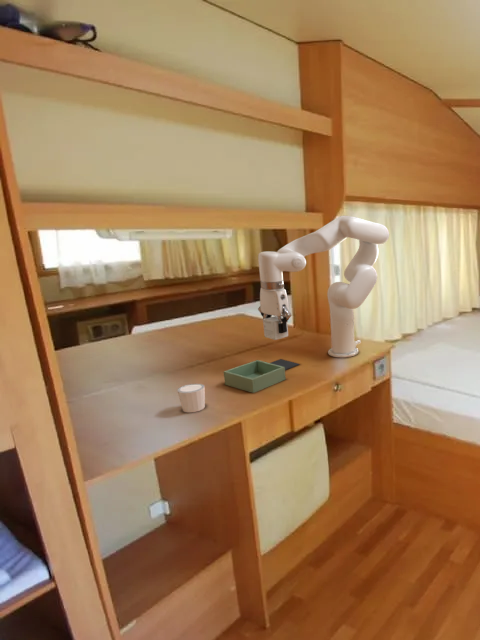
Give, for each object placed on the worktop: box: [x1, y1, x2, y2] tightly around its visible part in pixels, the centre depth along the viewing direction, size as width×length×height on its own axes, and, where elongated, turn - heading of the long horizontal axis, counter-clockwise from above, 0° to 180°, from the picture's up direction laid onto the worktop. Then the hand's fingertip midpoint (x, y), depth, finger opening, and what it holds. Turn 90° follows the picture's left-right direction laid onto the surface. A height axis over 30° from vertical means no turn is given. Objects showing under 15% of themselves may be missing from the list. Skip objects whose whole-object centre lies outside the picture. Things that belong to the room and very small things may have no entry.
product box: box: [262, 315, 289, 341], centre depth 163 cm, size 6×6×7 cm
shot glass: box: [176, 383, 206, 413], centre depth 131 cm, size 7×7×7 cm
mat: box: [270, 358, 300, 371], centre depth 168 cm, size 10×10×1 cm
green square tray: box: [223, 359, 287, 394], centre depth 153 cm, size 14×14×5 cm
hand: (276, 330), depth 163 cm, fingers closed on product box, 6 cm apart
